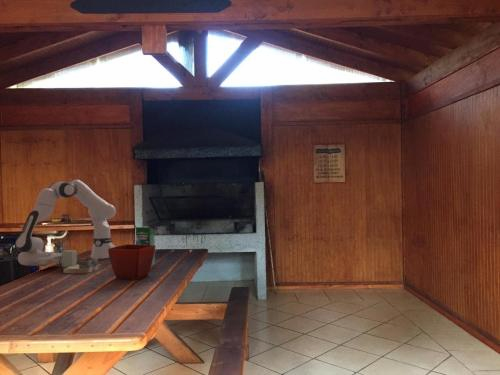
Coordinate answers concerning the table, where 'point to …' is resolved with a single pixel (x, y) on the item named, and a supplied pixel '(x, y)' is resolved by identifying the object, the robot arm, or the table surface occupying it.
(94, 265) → the dock
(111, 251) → the plant pot
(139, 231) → the milk carton
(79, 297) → the table surface
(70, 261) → the pale green handled box
